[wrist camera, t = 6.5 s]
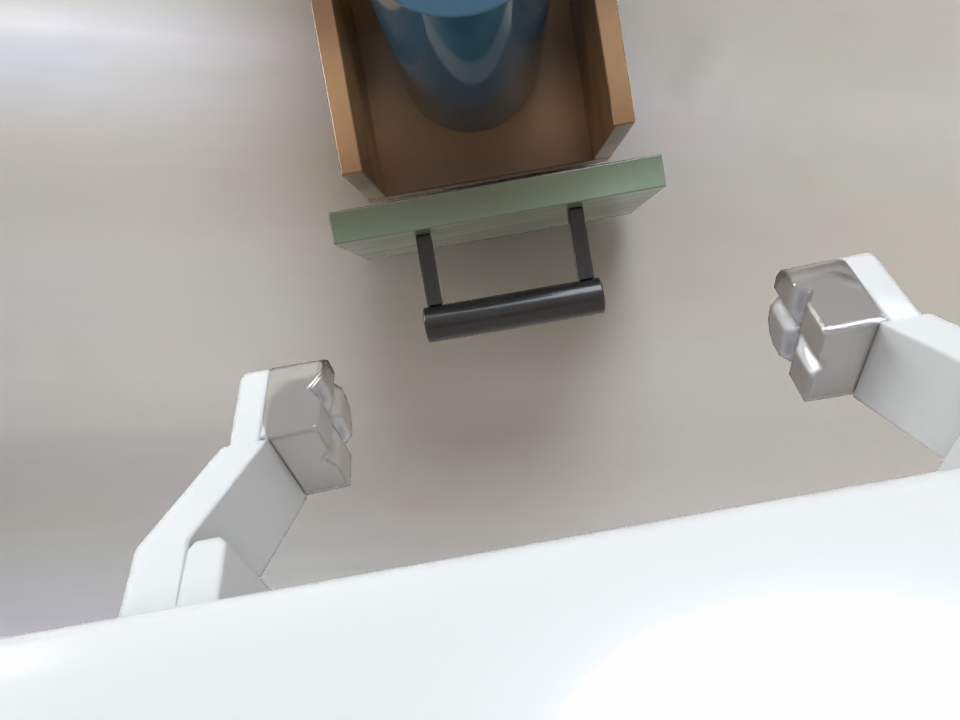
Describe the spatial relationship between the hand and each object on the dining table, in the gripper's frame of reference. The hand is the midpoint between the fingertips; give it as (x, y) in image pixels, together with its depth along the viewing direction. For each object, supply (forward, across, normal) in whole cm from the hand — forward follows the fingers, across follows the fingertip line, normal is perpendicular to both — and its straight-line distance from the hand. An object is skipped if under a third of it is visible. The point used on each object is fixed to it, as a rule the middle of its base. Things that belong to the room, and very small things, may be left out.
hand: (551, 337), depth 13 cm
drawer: (+21, 0, +7) cm, 22 cm away
